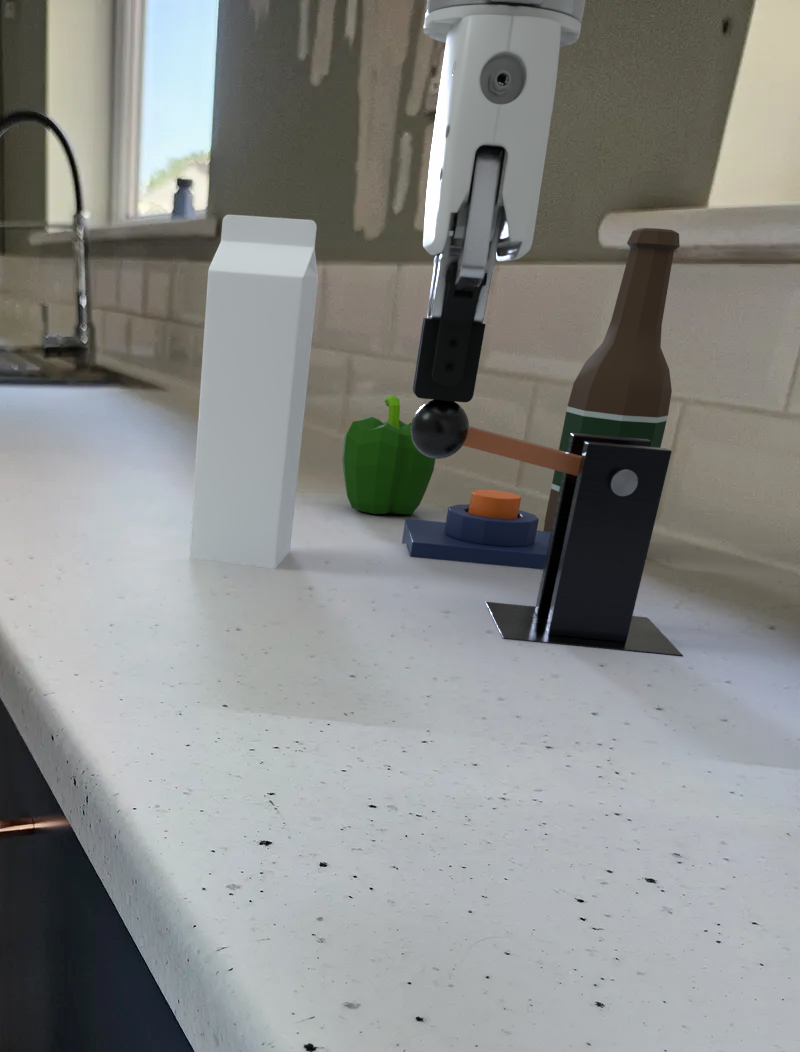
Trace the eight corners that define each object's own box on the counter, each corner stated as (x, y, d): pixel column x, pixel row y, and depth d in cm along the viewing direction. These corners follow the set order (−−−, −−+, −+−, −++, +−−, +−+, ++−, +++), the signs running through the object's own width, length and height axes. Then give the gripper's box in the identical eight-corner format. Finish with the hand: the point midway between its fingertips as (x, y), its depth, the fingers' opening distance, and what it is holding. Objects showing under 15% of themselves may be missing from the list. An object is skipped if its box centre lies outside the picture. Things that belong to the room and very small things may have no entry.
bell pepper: (420, 525, 98) (438, 405, 94) (328, 513, 100) (342, 395, 96) (432, 510, 106) (450, 398, 101) (346, 499, 108) (360, 389, 104)
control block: (553, 560, 89) (563, 509, 87) (575, 588, 81) (587, 532, 79) (401, 546, 90) (408, 495, 88) (407, 572, 82) (416, 516, 80)
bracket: (498, 657, 64) (539, 442, 59) (482, 620, 71) (517, 425, 66) (678, 675, 63) (735, 459, 58) (643, 635, 70) (691, 440, 65)
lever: (404, 454, 62) (423, 394, 61) (401, 446, 65) (419, 389, 64) (631, 514, 62) (655, 456, 61) (618, 504, 65) (640, 448, 64)
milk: (208, 557, 82) (232, 217, 73) (290, 567, 81) (325, 223, 71) (186, 575, 76) (210, 210, 67) (274, 586, 75) (310, 216, 66)
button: (513, 515, 85) (517, 492, 85) (520, 524, 82) (524, 500, 81) (465, 511, 86) (469, 488, 85) (470, 520, 82) (474, 496, 82)
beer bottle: (655, 555, 94) (733, 234, 84) (593, 561, 90) (667, 225, 80) (582, 535, 100) (646, 233, 89) (521, 540, 96) (581, 224, 86)
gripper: (619, -34, 47) (531, 420, 55) (556, 37, 61) (492, 393, 69) (441, -46, 48) (378, 405, 56) (417, 27, 61) (369, 382, 69)
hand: (441, 398), depth 62 cm, fingers closed
